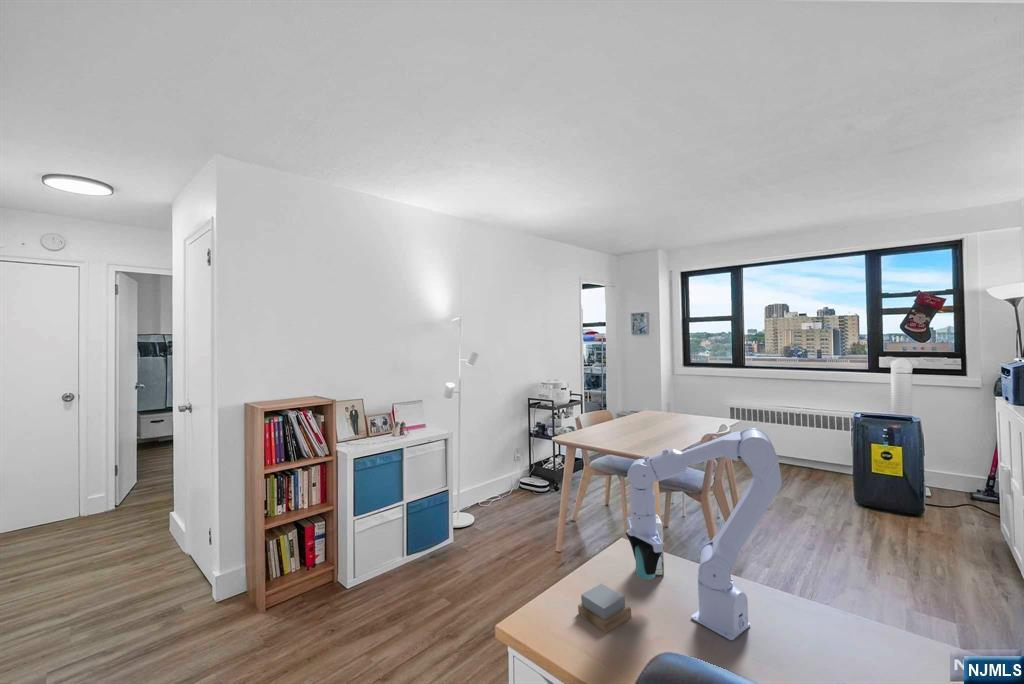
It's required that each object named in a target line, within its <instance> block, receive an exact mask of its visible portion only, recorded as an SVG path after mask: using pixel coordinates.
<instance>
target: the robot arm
mask: <svg viewBox="0 0 1024 684" xmlns="http://www.w3.org/2000/svg"><path fill="white" fill-rule="evenodd" d="M722 457H723V458H727V459H730V460H732V461H735V462H739V457H740V459H741V460H742V461H743V463H745V464H746V466H747V467H748V468H749V470H750V471H751V475H752V477H753V478H752V479H751V481H750V483H749V485H748V486H747V487H746V489H745V490H744V492H743V494H742V495H741V497H740V498H739V500H738V501H737V503H736V505H735V507H734V508H733V510H732V511H731V513H730V514H729V516H728V518H727V520H726V521H725V523H724V524H723V526H722V527H721V529H720V531H719V532H718V533H717V534H715V535H713V538H712V539H711V540H710V541H709V542H706V543H705V544H703V545H702V546H701V548H700V549H699V550H700V551H699V556H700V557H699V566H698V574H697V590H698V591H697V593H698V595H697V596H698V610H697V611H696V612H695V613H693V614H692V615H690V618H691V620H693V621H695V622H697V623H699V624H701V625H702V626H704V627H706V628H708V629H709V630H711V631H713V632H714V633H716V634H718V635H720V636H722V637H724V638H725V639H727V640H729V641H734V640H735V639H736V638H737V637H739V636H740V635H742V633H743V632H744V631H746V630H747V629H748V628H749V627H750V626H751V622H749V607H748V605H749V604H748V597H747V594H746V593H745V592H744V591H742V590H741V589H740V588H738V587H737V586H736V585H735V583H734V579H733V578H732V576H731V575H732V571H733V569H734V567H735V566H736V562H737V559H738V557H739V556H738V555H739V553H740V552H741V550H742V548H743V546H744V545H745V543H746V542H747V541H748V538H749V537H750V536H751V534H752V533H753V531H754V529H755V528H756V527H757V525H758V524H759V522H760V521H761V519H762V517H763V515H764V514H765V512H766V511H767V510H768V508H769V506H771V503H772V502H773V500H774V499H775V497H776V496H777V494H778V492H779V490H780V489H781V488H782V485H783V484H782V483H783V482H782V475H781V469H780V461H779V459H780V458H779V456H778V454H777V452H776V450H775V447H774V445H773V444H772V441H771V440H770V438H769V436H768V435H767V434H766V433H765V432H764V431H763V430H762V429H759V428H755V427H750V428H746V429H743V430H742V431H740V430H738V431H733V432H730V433H728V434H725V435H723V436H720V437H717V438H715V439H711V440H710V441H707V442H704V443H701V444H699V445H697V446H694V447H692V448H688V449H686V450H683V451H682V450H681V451H680V450H678V449H676V448H672V449H669V448H668V447H667V448H663V449H662V452H661V453H660V452H659V453H658V454H655V455H652V456H649V455H645V456H644V457H643V458H638V459H636V460H634V461H633V462H632V463H631V466H630V467H629V469H628V471H627V476H626V477H627V481H628V482H629V487H630V488H629V489H630V491H629V498H630V499H629V500H630V501H629V502H630V503H629V504H630V505H629V506H630V517H627V518H626V525H627V527H629V529H627V530H626V532H625V535H626V538H628V541H629V543H630V547H631V549H632V553H633V556H634V558H635V547H636V546H637V545H638V547H639V549H640V551H641V554H642V557H643V562H644V569H645V573H646V574H647V575H650V574H655V572H656V567H657V563H658V560H659V557H660V555H661V553H662V552H663V553H664V552H665V551H664V550H665V546H664V542H663V543H662V542H661V540H660V537H659V534H658V531H657V529H656V515H657V513H656V512H657V510H656V494H655V483H654V482H660V481H664V480H667V479H671V478H674V477H677V476H680V475H683V474H685V473H686V472H687V469H688V466H692V465H697V464H699V463H704V462H708V461H711V460H714V459H718V458H722ZM634 560H635V559H634ZM635 562H636V560H635Z"/></svg>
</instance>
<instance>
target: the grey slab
mask: <svg viewBox="0 0 1024 684" xmlns="http://www.w3.org/2000/svg"><path fill="white" fill-rule="evenodd" d="M580 599H581V603H582V606H584V607H585V608H587V609H588V610H590V611H591V612H593V613H594V614H596V615H598V616H599V617H601V618H602V619H604V620H606V619H607V618H609V617H610V616H612V615H614V614H615V613H617V612H618V611H620V610H621V609H623V608H625V605H626V599H625V595H623V594H621V593H619V592H617V591H616V590H614V589H612V588H611V587H609V586H607V585H605V584H603V583H599V584H598V585H596V586H594V587H593V588H591V589H589V590H587V591H585V592H584V593H581V598H580Z"/></svg>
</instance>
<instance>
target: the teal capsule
mask: <svg viewBox="0 0 1024 684" xmlns="http://www.w3.org/2000/svg"><path fill="white" fill-rule="evenodd" d="M634 560H636V561H635V575H636V576H637V577H639V578H641V579H643V580H652V579H654V578H655V577H656V575H655V574H650V575H647V574H646V573H645V569H644V562H643V557H642V554H641V551H640V549H639V547H638V545H637V546H636V547H635V557H634Z"/></svg>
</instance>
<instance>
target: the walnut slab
mask: <svg viewBox="0 0 1024 684" xmlns="http://www.w3.org/2000/svg"><path fill="white" fill-rule="evenodd" d="M577 608H578V609H577V610H578V613H579V614H578V615H580V616H581V615H582V616H583V618H584V619H585V618H586V620H587V621H588V622H590V623H591V624H593V625H594V626H595V627H597V628H598V629H599V630H600V631H602V632H604V633H605V634H607V633H608V632H610V631H611V630H613V629H615V628H616V627H619V626H620V625H622V624H623V623H624V622H626V621H627V620H629V619H630V618H632V608H631V607H629V605H627V604H625V608H623V609H621V610H620V611H618V612H617V613H615V614H614V615H612V616H610V617H609V618H607V619H606V620H604V619H602V618H601V617H599V616H598V615H596V614H594V613H593V612H591V611H590V610H588V609H587V608H585V607H584V606H582V602H581V603H579V604H578V605H577ZM582 616H581V617H582Z"/></svg>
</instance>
